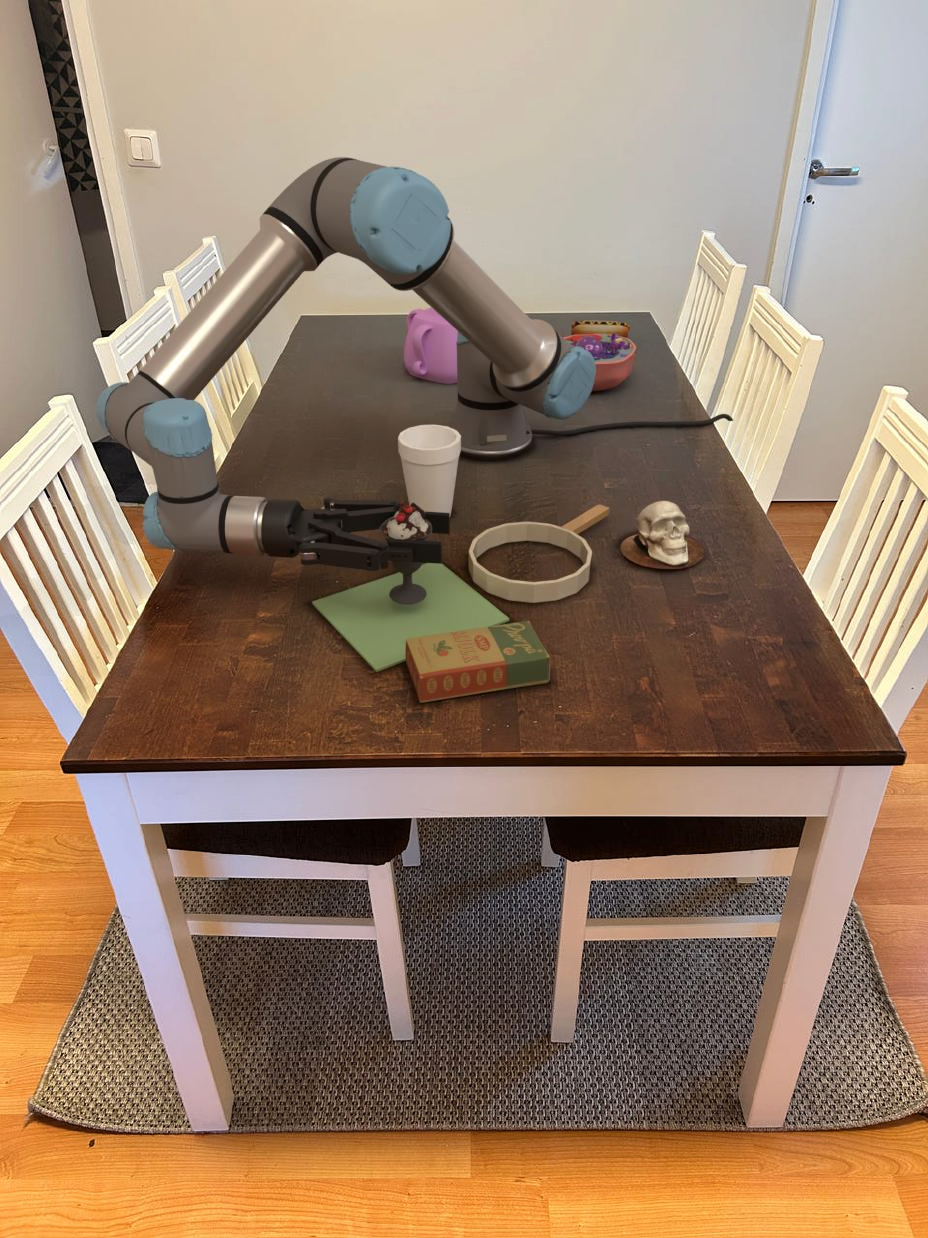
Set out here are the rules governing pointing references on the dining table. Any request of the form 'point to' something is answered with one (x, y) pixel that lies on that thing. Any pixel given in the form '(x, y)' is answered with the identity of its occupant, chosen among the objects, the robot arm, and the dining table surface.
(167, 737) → the dining table surface
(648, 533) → the skull
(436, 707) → the dining table surface
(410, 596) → the sundae
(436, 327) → the teapot
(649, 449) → the dining table surface
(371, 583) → the mat
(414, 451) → the foam cup
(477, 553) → the pan
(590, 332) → the hot dog
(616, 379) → the cell model
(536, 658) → the carton
